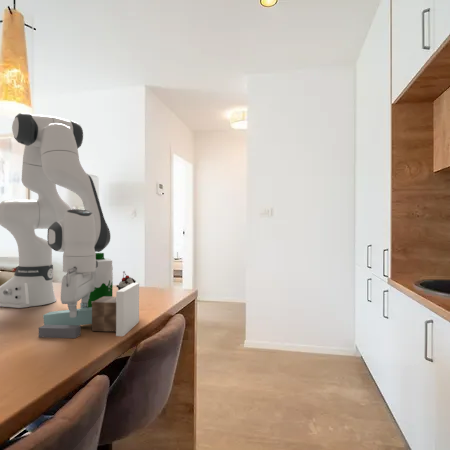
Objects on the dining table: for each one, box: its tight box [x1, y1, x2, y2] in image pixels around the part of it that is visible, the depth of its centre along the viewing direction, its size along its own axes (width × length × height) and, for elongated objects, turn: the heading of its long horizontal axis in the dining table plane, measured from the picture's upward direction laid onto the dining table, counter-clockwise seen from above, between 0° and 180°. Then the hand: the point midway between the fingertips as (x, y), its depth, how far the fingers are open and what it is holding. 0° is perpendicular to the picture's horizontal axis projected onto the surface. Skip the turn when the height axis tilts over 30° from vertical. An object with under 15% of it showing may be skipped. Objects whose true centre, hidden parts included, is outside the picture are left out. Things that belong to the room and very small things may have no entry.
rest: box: [38, 324, 82, 339], centre depth 95 cm, size 10×3×2 cm, turn 87°
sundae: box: [115, 270, 137, 291], centre depth 115 cm, size 7×7×15 cm
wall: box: [115, 282, 140, 337], centre depth 102 cm, size 2×14×12 cm, turn 177°
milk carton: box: [87, 252, 114, 308], centre depth 120 cm, size 9×9×20 cm
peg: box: [42, 307, 92, 326], centre depth 103 cm, size 18×4×4 cm, turn 91°
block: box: [91, 296, 116, 332], centre depth 102 cm, size 8×8×8 cm
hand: (79, 312), depth 103 cm, fingers open, 8 cm apart
